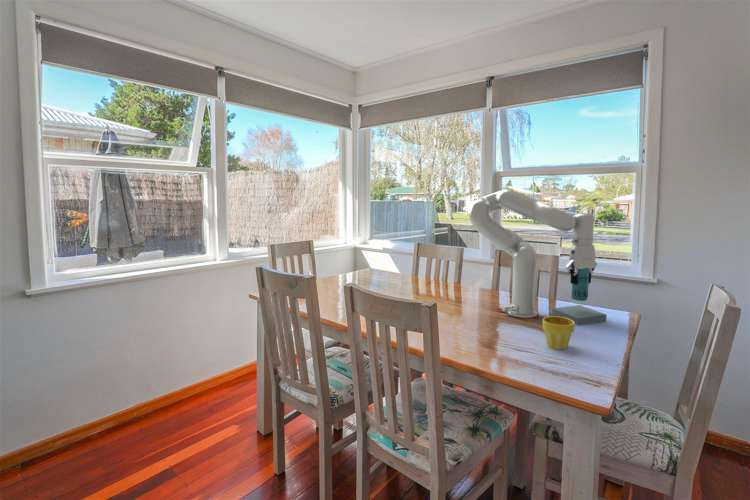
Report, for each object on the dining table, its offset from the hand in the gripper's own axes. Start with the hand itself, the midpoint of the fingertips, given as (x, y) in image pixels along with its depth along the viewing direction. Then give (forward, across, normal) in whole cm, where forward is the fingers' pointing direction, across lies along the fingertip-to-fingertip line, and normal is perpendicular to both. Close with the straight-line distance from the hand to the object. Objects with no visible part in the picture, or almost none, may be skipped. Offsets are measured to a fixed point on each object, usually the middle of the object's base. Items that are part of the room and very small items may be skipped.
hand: (580, 282), depth 172 cm
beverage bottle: (+9, 0, 0) cm, 9 cm away
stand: (+16, 0, 0) cm, 16 cm away
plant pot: (+16, -31, -23) cm, 42 cm away
